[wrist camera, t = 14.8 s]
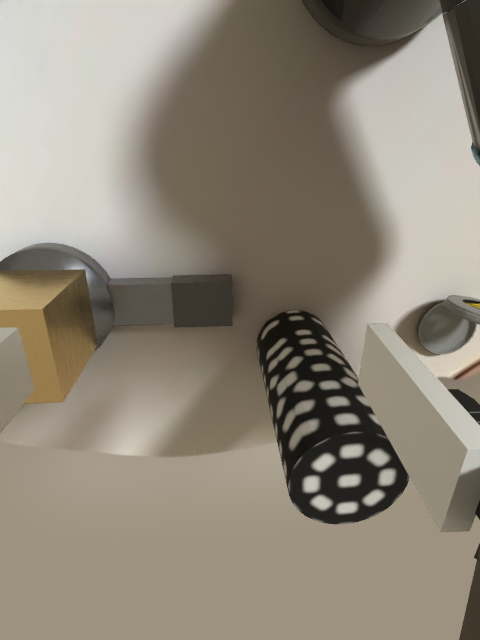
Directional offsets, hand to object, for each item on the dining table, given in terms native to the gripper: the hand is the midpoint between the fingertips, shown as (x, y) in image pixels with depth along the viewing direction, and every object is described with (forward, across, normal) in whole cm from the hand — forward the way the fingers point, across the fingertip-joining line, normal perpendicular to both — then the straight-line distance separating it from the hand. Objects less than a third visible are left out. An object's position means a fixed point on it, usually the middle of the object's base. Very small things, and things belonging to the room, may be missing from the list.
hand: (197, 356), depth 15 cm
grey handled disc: (+25, -10, -7) cm, 28 cm away
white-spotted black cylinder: (+26, +9, -13) cm, 30 cm away
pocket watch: (+26, +27, -10) cm, 39 cm away
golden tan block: (+22, -16, -8) cm, 29 cm away
